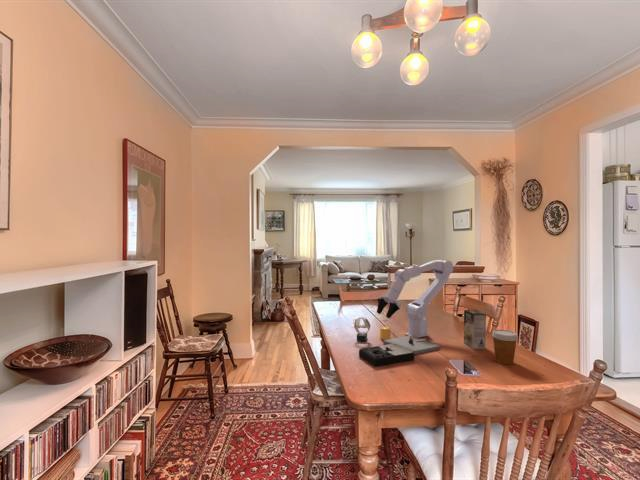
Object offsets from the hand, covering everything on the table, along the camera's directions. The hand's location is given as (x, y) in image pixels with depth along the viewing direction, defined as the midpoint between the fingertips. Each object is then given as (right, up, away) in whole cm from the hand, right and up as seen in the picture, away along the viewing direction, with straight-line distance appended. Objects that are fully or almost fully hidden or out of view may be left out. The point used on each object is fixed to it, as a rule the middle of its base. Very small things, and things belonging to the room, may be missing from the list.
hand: (382, 315), depth 167 cm
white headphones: (-10, -12, +22) cm, 27 cm away
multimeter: (-3, -13, -26) cm, 29 cm away
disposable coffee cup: (+45, -13, -29) cm, 55 cm away
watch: (-10, -12, -1) cm, 16 cm away
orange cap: (+2, -12, +2) cm, 12 cm away
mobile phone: (+25, -13, -35) cm, 46 cm away
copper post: (+11, -11, -10) cm, 18 cm away
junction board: (+11, -12, -10) cm, 19 cm away
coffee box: (+41, -12, -9) cm, 44 cm away
